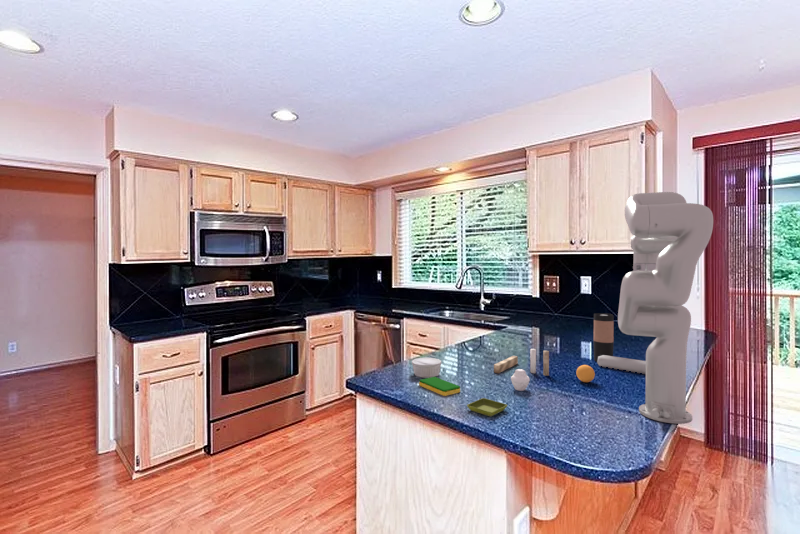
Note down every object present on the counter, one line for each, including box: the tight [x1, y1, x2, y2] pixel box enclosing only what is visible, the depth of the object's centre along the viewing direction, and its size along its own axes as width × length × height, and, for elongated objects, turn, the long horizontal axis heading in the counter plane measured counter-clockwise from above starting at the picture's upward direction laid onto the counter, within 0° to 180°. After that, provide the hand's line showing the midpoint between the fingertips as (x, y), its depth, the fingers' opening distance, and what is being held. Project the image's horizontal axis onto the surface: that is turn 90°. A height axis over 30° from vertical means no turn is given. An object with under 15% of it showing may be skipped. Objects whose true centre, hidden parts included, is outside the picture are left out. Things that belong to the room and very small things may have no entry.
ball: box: [575, 364, 596, 383], centre depth 147 cm, size 6×6×6 cm
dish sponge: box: [418, 376, 461, 397], centre depth 140 cm, size 7×14×2 cm, turn 34°
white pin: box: [529, 348, 537, 374], centre depth 158 cm, size 2×2×9 cm
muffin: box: [510, 368, 531, 392], centre depth 139 cm, size 6×6×7 cm
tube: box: [596, 355, 646, 375], centre depth 160 cm, size 5×5×25 cm
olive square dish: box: [466, 397, 508, 417], centre depth 120 cm, size 9×9×2 cm
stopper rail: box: [493, 355, 519, 374], centre depth 165 cm, size 18×2×3 cm, turn 141°
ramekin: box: [411, 357, 442, 379], centre depth 157 cm, size 11×11×5 cm
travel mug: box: [593, 312, 615, 363], centre depth 175 cm, size 8×8×20 cm
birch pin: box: [542, 350, 550, 377], centre depth 155 cm, size 2×2×9 cm
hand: (645, 317), depth 144 cm, fingers open, 9 cm apart
